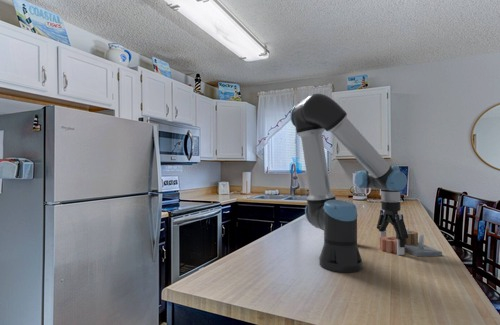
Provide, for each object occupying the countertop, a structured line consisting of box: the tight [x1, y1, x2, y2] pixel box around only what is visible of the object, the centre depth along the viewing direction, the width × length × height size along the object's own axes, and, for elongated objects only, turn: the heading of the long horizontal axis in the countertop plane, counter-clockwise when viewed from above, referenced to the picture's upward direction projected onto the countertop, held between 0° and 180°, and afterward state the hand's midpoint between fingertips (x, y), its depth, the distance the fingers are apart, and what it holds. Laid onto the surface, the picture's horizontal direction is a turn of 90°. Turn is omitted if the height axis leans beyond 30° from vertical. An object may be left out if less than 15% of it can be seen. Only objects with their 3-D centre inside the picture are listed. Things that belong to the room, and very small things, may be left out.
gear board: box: [395, 227, 443, 257], centre depth 130 cm, size 20×11×8 cm, turn 5°
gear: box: [379, 235, 397, 254], centre depth 129 cm, size 9×9×5 cm
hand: (391, 250), depth 129 cm, fingers open, 13 cm apart
